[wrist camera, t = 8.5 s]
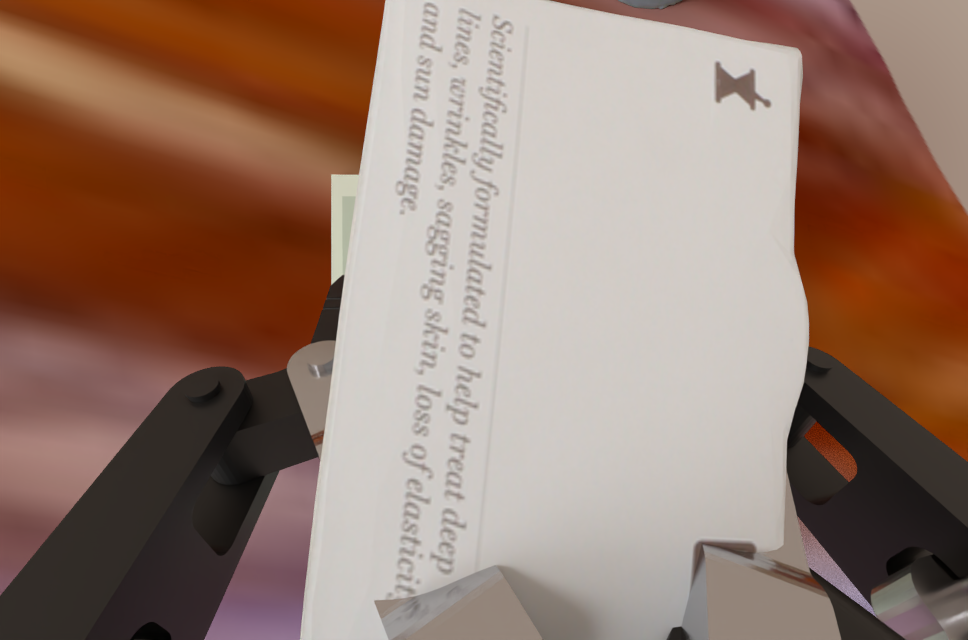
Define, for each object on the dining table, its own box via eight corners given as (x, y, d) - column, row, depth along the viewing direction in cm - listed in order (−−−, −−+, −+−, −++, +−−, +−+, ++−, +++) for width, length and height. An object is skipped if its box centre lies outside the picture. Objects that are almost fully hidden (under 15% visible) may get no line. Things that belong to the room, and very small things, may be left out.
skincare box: (422, 256, 19) (361, -86, 5) (545, 271, 20) (829, 6, 5) (401, 435, 18) (236, 705, 4) (531, 445, 19) (839, 718, 4)
